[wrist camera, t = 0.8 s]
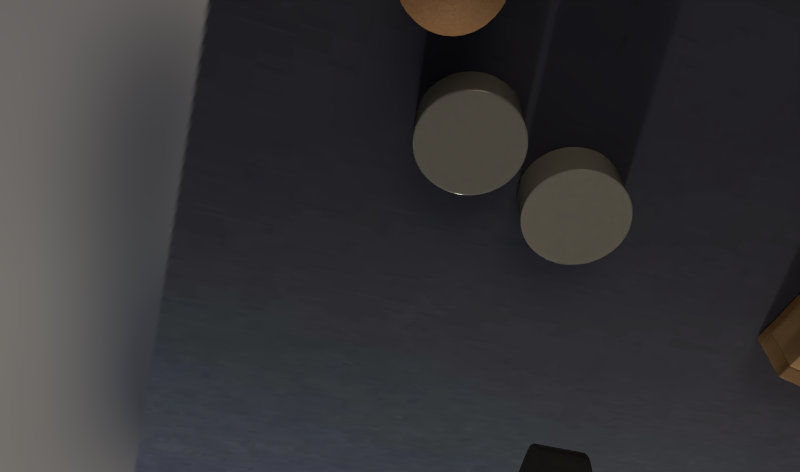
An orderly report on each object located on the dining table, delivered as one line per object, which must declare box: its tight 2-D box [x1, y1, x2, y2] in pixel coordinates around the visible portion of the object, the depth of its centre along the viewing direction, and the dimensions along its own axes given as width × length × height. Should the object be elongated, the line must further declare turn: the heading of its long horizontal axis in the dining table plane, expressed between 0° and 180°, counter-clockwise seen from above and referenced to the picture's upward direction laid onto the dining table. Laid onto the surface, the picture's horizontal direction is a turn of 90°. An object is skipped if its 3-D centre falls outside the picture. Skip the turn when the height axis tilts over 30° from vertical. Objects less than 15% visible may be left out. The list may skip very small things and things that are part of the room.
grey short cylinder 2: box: [517, 147, 633, 265], centre depth 35 cm, size 5×5×2 cm
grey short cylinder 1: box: [413, 71, 528, 195], centre depth 33 cm, size 5×5×2 cm
